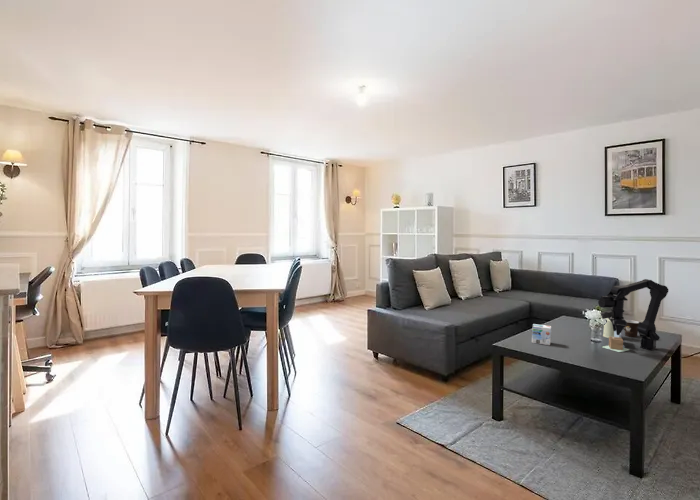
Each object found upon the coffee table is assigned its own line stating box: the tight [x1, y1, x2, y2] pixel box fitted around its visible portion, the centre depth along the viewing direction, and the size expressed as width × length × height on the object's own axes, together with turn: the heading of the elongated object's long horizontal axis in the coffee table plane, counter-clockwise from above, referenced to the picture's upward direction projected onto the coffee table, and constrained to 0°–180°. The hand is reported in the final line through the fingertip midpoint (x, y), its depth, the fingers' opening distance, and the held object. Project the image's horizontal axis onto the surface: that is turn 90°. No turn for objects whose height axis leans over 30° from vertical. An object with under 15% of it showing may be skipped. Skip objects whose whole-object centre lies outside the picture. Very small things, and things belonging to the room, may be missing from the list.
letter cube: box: [608, 336, 624, 350], centre depth 231 cm, size 6×6×6 cm
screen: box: [614, 331, 626, 348], centre depth 240 cm, size 14×5×8 cm, turn 155°
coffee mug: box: [623, 319, 640, 339], centre depth 259 cm, size 12×9×10 cm
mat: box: [602, 344, 630, 353], centre depth 231 cm, size 10×10×1 cm
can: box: [602, 318, 614, 339], centre depth 255 cm, size 9×9×12 cm
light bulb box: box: [531, 323, 552, 346], centre depth 242 cm, size 11×7×11 cm, turn 62°
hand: (616, 333), depth 230 cm, fingers open, 9 cm apart
